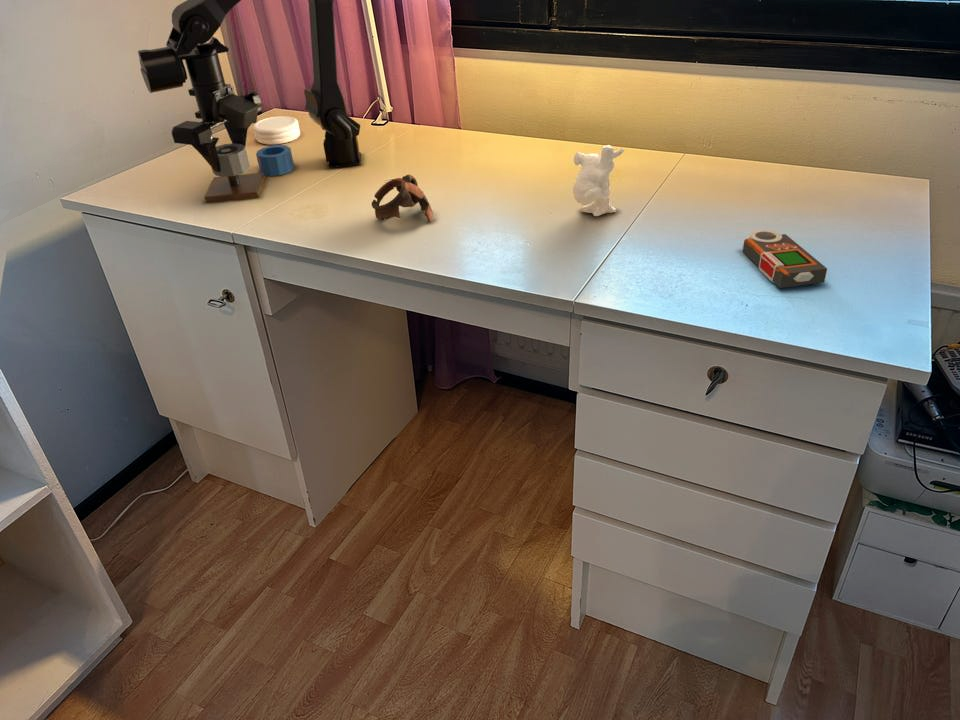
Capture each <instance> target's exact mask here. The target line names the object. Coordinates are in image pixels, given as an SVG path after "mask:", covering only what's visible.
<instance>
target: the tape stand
mask: <svg viewBox="0 0 960 720" xmlns="http://www.w3.org/2000/svg"><path fill="white" fill-rule="evenodd" d="M228 153H232V150H231V149H223V150H221V154H228ZM265 180H266V175H264V172H263V173H260V172H254V173H242V174H239V175H235V176H228V177H222V176H214V177H213V178H212V180H211V182H210V184H209V186H208V189H207V191H206V193H205V194H204V197H203V198H204V202H205V203H206V204H207V203H218V202H228V201H239V200H250V199H258V198H259V197H260V195H261V192H262V189H263V186H264V184H265V183H264V182H265Z"/></svg>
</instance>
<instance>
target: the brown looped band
mask: <svg viewBox="0 0 960 720" xmlns="http://www.w3.org/2000/svg"><path fill="white" fill-rule="evenodd" d="M395 188H396V189H395ZM394 189H395V190H396V191H397V192H398V193H397V195H395V197H394V198H393V199H391V200H390V201H388V202H386V203H385V204H381V202H382V200H383V199H384V197H385V196H386V195H387V194H389V193H390V192H392V190H394ZM374 198H375V199H372V201H371V208H372V209H374V215H375V219H377V220H379V221H385V220H390V219H392V218H397V219H401V218H402V217H401V215H400V207H401V208H413V207H415V206H416V205H418V204H419V206H420V210H421V211H422V212H424V213H423V214H424V216H425V217H427V218H426V219H427V222H428V223H432V221H433V220H434V212H433V210H432V207H431V203H430V202H429V201H428V200H429V199H428V198H427V196H426V194H425V193H424V191H423V190H422V189H421V188H420V187H419V184H418V181H417V179H416V177H414V176H413V175H411V174H406V175H404V176H402V177H395V178H392V179H390V180H389V181H387V182H385V183H384V184H383V185H381V187H380V188H378V190H377V191H376V192H375V193H374ZM380 204H381V205H380Z"/></svg>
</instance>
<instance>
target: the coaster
mask: <svg viewBox="0 0 960 720" xmlns="http://www.w3.org/2000/svg"><path fill="white" fill-rule="evenodd" d="M253 132H254V135H255V140H256V141H257V142H258V143H259V144H263V145H268V146H272V145H284V144H287V143H290V142H293V141H295V140H297V139H298V138H299V137H300V136H301V130H300V126H299V120H298V119H296V118H295V117H293V116H288V115H287V116H286V115H278V116H277V115H276V116H271V117H267V118H264V119H261V120H257V122H256V123H254V125H253Z"/></svg>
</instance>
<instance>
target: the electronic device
mask: <svg viewBox="0 0 960 720" xmlns="http://www.w3.org/2000/svg"><path fill="white" fill-rule="evenodd" d="M742 246H743V247H742V253H743V254H744V255H745V256H746V257H747V258H748V259H749V260H750V261H752V263H753V264H755V265H756V266H757V268H758V271H760V273H761V274H762V275H764V276H765V278H767V279H768V280H769V281H770V283H774V284H775V285H776V286H777V287H778V288H779V289H781V288H789V287H790V288H791V287H797V286H807V285H814V284H823V283H825V281H826V276H827V271H828V268H827V267H826V266H825V265H824V264H822V263H821V262H820V261H819V260H817V258H815V257H814V256H813V255H811V253H809V252H808V251H807V250H806V249H804V248H803V247H802V246H801V245H799V244H798V243H797V242H796V241H795V240H793V239H792V238H791V237H790V236H789V235H788V234H786V233H783V234H781V233H780V232H778V231H775V230H772V229H755V230H753V231H751V232H750V233H749V238H745V239H744V240H743V245H742Z"/></svg>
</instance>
